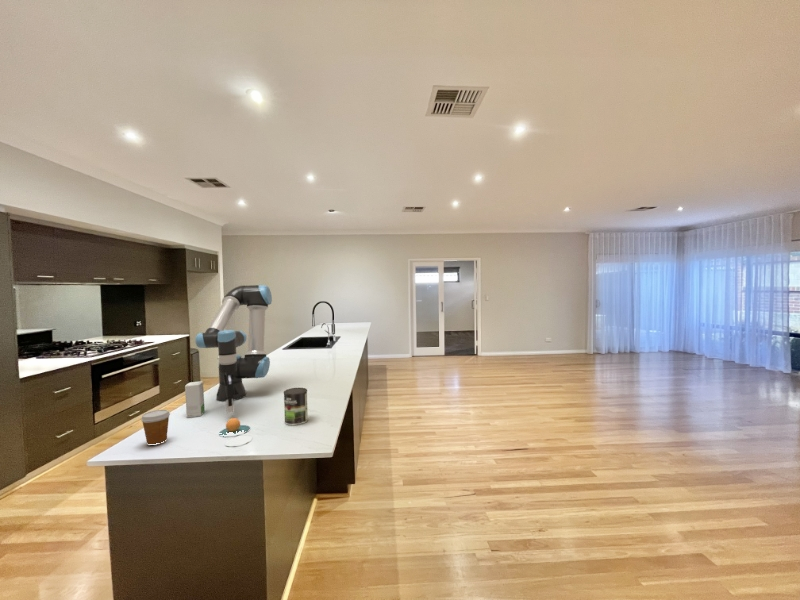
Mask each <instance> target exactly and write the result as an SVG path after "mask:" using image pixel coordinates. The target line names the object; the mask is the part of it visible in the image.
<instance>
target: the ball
mask: <svg viewBox="0 0 800 600" xmlns="http://www.w3.org/2000/svg"><path fill="white" fill-rule="evenodd" d="M240 425H241V422H240V420H239V419H238V418H234V417H232V418H230V419H229V420H228V421H227V422H226V423H225V429H227V430H228V431H230V432H234V431H236V430H238V429H239V427H240Z"/></svg>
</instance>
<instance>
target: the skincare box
mask: <svg viewBox="0 0 800 600" xmlns="http://www.w3.org/2000/svg"><path fill="white" fill-rule="evenodd" d="M184 392H185V395H184V396H185V409H186V410H185V411H186V418H187V419H188V418H189V417H191V418H197V417H196V416H198V417H201V416H202V415H203V414H204V413H205V411H206V410H205V394H204V393H205V391H204V381H203V380H200V381H193V382H192V381H191V382H188V383H186V385H185V386H184ZM203 412H204V413H203Z"/></svg>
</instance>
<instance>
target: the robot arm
mask: <svg viewBox="0 0 800 600" xmlns="http://www.w3.org/2000/svg"><path fill="white" fill-rule="evenodd" d="M272 302H273V297H272V291H271V289H270V288H269V286H268V285H263V284H257V285H256V284H254V285H239V286H236V287H234V288H232V289H231V290H230V291H228V292H227V293H226V294H225V295H224V297H222V301H221V305H220V307H219V309H218V310H217V312H216V313H215V315H214V317H213V319H212V320H211V322H210V323H209V325H208V327H207V328H206V330H205V332H200V333H197V335H196V336H195V340H194V342H195V345H196V347H197V348H199V349H211V348H213V349H215V348H216V349H217V348H218V349H217V350H218V357H217V360H218V367H217V368H218V381H219V386H218V389H217V392H216V401H218V400H219V401H218V402H226V413H227V414H230V413H234V401H237V400H239V399H242V398H245V397H246V395H247V391H246V388H245V386H244V384H243V379H244V380H245V379H260V378H265V377H266V376H267V375H268V372H269V371H270V366H271V361H270V360H271V359H270V358H269V356H267V352H265V325H266V324H265V321H266V317H265V316H266V310H268V309H269V306H270V305H271V304H272ZM240 306H246V309H247V310H248V311H249V312H248V332H247V333H248V335H247V334H246V333H245V332H244V331H241V330H234V329H226V328H227V326H228V325H229V322H230V320H231V319H232V318H233V315H234V314H235V312H236V310H238V309H239V308H240ZM247 336H248V337H247ZM246 342H247V351H246V353H244V357H242V355H241V354H237V348H238V347H241V346H243V344H245V343H246Z"/></svg>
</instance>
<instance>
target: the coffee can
mask: <svg viewBox="0 0 800 600" xmlns="http://www.w3.org/2000/svg"><path fill="white" fill-rule="evenodd" d="M283 403H284V404H283V405H284V406H283V407H284V424H285V425H287V424H288V425H287V426H298V425H297V424H300V425H302V424H301V423H303V424H305V423H307V422H308V421H309V417H308V416H309V415H308V412H309V411H308V388H305V387H291V388H288V389H285V390H284V391H283ZM307 420H308V421H307ZM306 421H307V422H306ZM304 422H305V423H304Z"/></svg>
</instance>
